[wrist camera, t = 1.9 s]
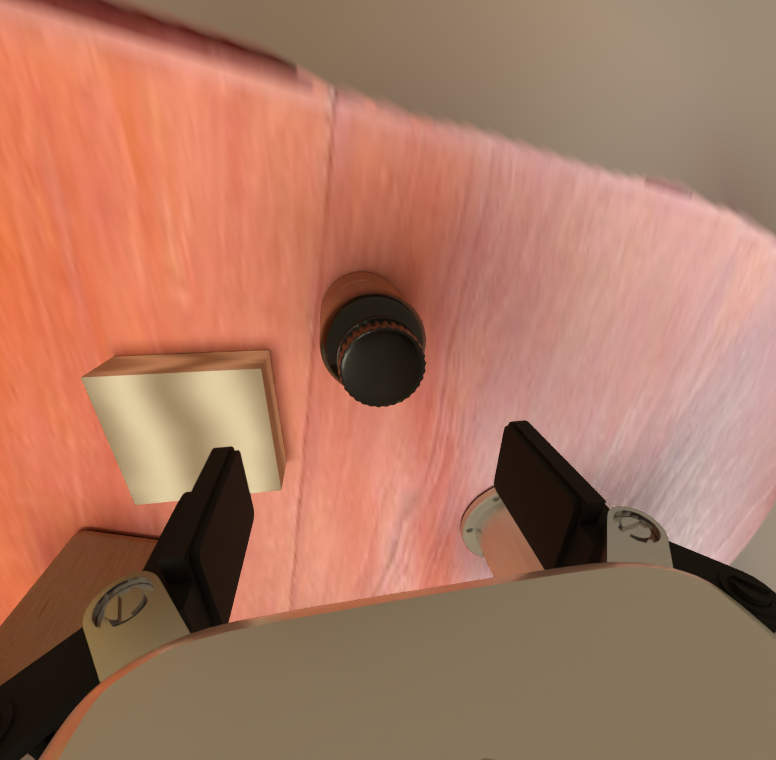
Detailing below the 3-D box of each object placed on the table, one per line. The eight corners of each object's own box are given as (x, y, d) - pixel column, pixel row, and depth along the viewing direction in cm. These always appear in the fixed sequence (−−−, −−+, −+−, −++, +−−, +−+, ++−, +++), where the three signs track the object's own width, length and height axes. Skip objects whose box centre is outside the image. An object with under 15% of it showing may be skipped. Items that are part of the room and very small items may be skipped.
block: (77, 524, 33) (-217, 881, 15) (187, 539, 36) (48, 851, 18) (71, 589, 36) (-175, 941, 19) (172, 597, 39) (42, 908, 22)
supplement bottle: (317, 346, 29) (311, 419, 18) (324, 264, 26) (321, 295, 16) (394, 354, 30) (429, 426, 20) (408, 277, 28) (458, 313, 17)
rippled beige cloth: (269, 349, 28) (260, 368, 25) (286, 461, 34) (281, 490, 30) (114, 356, 27) (80, 377, 23) (157, 473, 32) (135, 505, 28)
